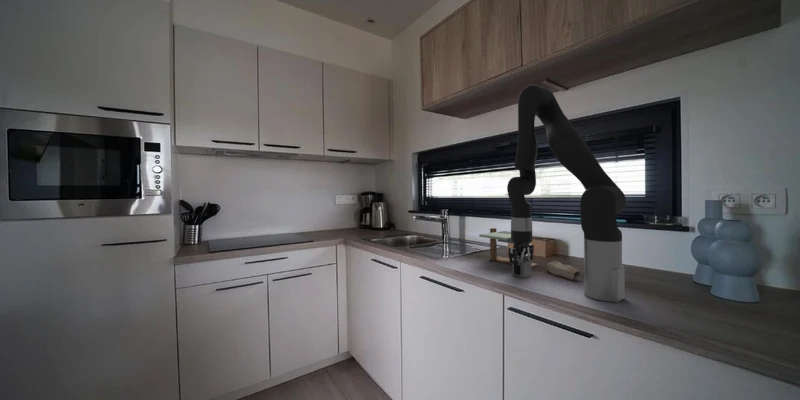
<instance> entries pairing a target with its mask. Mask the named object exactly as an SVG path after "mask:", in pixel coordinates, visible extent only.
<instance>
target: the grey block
mask: <svg viewBox="0 0 800 400" xmlns="http://www.w3.org/2000/svg"><path fill="white" fill-rule="evenodd" d="M532 261H533V260H531V261H527V260H523V259H522V260H521V262H520V275H516V274H514V265H513V264H511V274H512V276H515V277H519V278H522V279H526V278H528V277H529V278H530V277H531V276H532V273H533V272H532V271H533V270H532V268H533V267H532V263H533V262H532ZM517 262H518V259H517Z"/></svg>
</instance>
